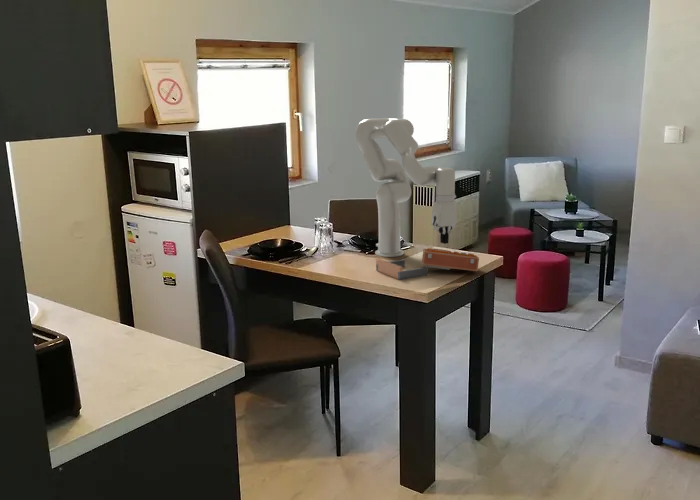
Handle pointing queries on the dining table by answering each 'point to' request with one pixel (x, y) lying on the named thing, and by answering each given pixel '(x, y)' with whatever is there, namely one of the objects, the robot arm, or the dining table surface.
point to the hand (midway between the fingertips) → (444, 242)
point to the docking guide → (398, 269)
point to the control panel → (449, 259)
